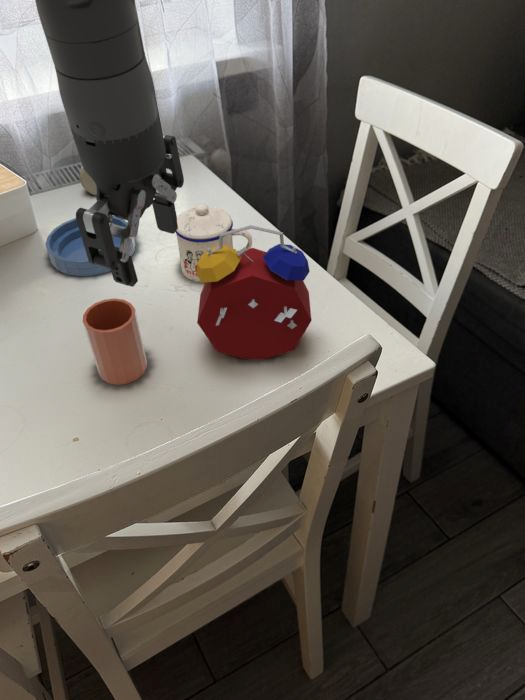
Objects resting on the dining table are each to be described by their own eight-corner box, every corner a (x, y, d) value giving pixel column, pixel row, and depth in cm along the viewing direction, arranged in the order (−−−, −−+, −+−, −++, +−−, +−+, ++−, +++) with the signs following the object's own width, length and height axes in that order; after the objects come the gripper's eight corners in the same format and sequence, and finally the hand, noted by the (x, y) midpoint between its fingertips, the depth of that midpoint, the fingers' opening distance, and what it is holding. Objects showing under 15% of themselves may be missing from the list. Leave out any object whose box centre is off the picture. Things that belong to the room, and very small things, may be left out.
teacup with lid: (178, 287, 95) (168, 223, 87) (182, 254, 101) (173, 192, 93) (254, 284, 95) (251, 220, 87) (252, 251, 101) (250, 189, 93)
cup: (91, 383, 80) (73, 328, 73) (111, 350, 85) (96, 295, 78) (137, 391, 79) (122, 335, 72) (154, 357, 83) (142, 302, 76)
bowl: (36, 273, 98) (29, 256, 96) (74, 227, 108) (69, 210, 106) (115, 284, 96) (111, 266, 93) (147, 236, 106) (144, 218, 103)
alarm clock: (307, 331, 86) (311, 209, 73) (310, 374, 80) (316, 250, 66) (205, 333, 87) (190, 212, 73) (201, 376, 80) (184, 253, 67)
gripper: (119, 65, 55) (151, 207, 68) (24, 148, 47) (80, 292, 60) (192, 79, 53) (210, 222, 66) (104, 169, 45) (145, 312, 58)
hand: (148, 255), depth 63 cm, fingers open, 8 cm apart
